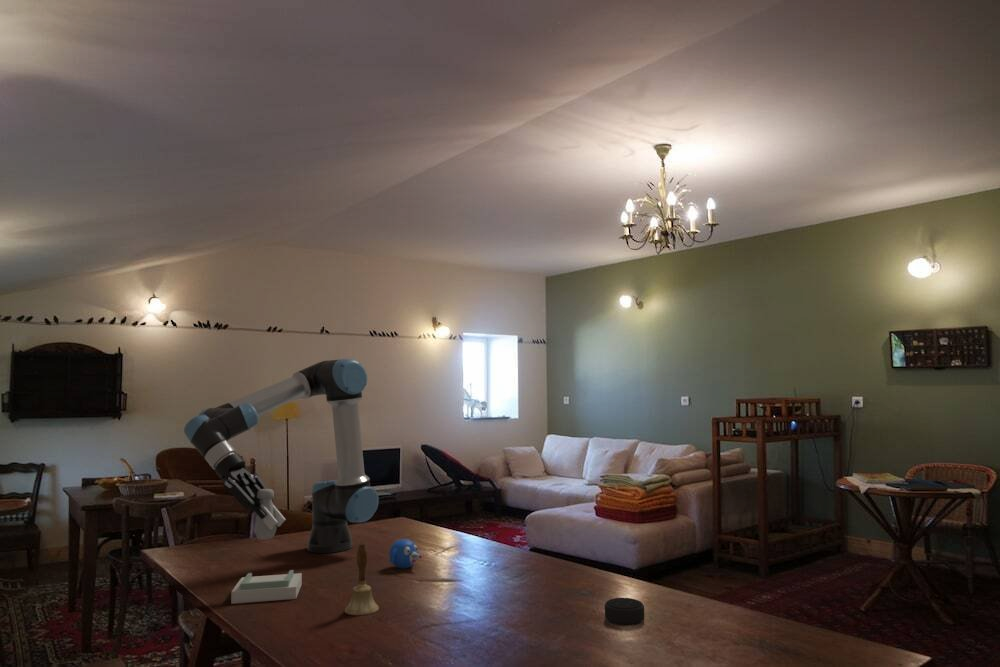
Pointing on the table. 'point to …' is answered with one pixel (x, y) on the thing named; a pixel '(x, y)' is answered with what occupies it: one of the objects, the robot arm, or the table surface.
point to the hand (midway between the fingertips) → (277, 524)
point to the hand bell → (361, 589)
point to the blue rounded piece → (404, 553)
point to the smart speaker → (624, 611)
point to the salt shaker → (260, 526)
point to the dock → (267, 588)
